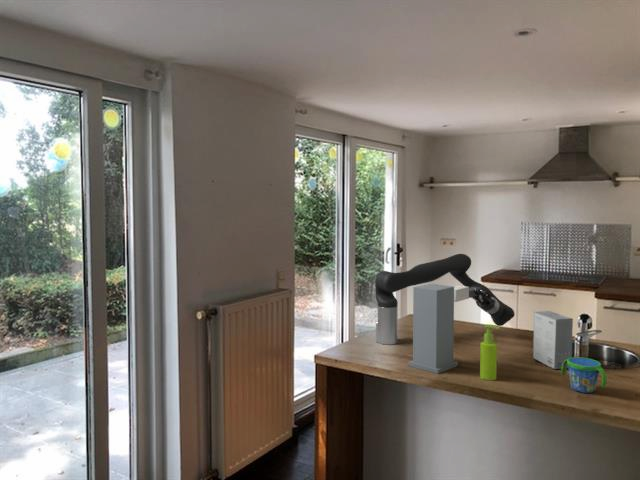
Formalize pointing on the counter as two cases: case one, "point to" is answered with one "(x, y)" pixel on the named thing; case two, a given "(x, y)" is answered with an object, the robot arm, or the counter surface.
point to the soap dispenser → (488, 355)
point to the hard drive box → (552, 338)
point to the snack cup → (584, 373)
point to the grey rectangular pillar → (433, 328)
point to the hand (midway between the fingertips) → (470, 289)
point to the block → (464, 293)
